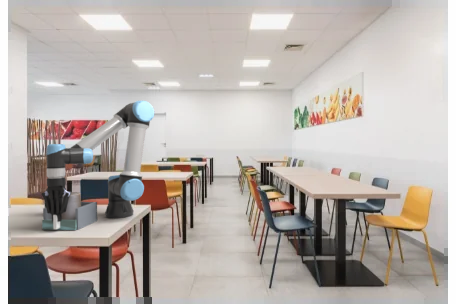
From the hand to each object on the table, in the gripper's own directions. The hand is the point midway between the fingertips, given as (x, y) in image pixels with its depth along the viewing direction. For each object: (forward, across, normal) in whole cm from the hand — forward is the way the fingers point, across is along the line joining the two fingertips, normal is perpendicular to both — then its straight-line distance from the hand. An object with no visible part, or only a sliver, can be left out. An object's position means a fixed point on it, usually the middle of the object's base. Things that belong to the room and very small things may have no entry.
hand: (56, 228), depth 137 cm
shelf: (+1, 0, -10) cm, 10 cm away
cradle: (+1, 0, -12) cm, 12 cm away
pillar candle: (0, +1, -12) cm, 12 cm away
